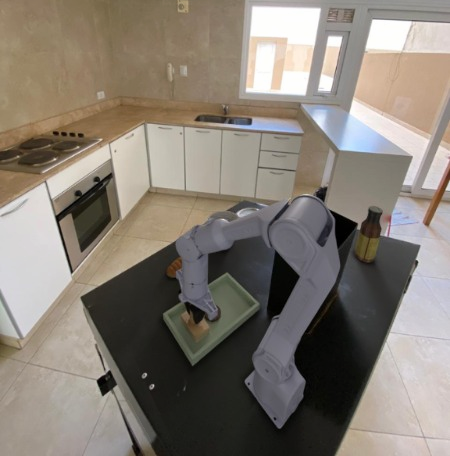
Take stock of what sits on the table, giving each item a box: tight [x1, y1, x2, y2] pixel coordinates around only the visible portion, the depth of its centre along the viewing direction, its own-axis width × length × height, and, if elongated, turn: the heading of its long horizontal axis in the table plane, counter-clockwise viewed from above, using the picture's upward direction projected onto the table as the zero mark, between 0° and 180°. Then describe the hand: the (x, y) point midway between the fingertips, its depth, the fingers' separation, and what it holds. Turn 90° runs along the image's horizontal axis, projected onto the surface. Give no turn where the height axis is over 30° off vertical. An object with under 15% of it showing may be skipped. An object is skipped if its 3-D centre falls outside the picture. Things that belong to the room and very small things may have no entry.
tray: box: [162, 272, 261, 367], centre depth 67 cm, size 14×22×2 cm, turn 130°
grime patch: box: [204, 305, 221, 322], centre depth 67 cm, size 4×4×1 cm
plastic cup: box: [207, 210, 239, 251], centre depth 90 cm, size 11×11×12 cm
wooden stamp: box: [181, 303, 210, 344], centre depth 62 cm, size 7×4×8 cm, turn 40°
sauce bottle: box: [354, 205, 383, 264], centre depth 86 cm, size 6×6×20 cm
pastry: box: [166, 256, 182, 279], centre depth 80 cm, size 9×7×4 cm
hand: (195, 316), depth 62 cm, fingers closed on wooden stamp, 2 cm apart
